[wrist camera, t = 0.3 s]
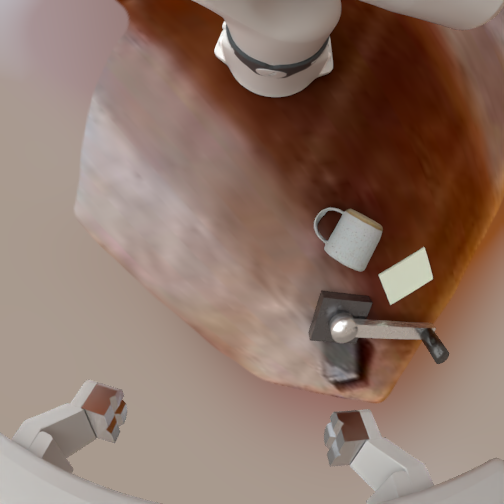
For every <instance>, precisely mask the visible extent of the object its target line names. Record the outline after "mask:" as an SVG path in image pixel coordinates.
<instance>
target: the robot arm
mask: <svg viewBox="0 0 504 504" xmlns="http://www.w3.org/2000/svg"><path fill="white" fill-rule="evenodd" d="M192 1H195V2H197V3H199V4H201V5H203V6H204V7H206V8H208V9H210V10H212V11H214V12H215V13H217V14H218V15H220V16H221V17H223V18H224V20H225V21H224V23H223V26H222V28H223V31H222V33H221V35H220V38H219V40H218V42H217V45H216V47H215V50H214V52H215V55H216V57H217V58H218V59H220V60H221V61H222V62H224V63H225V64H227V65H228V67H229V68H230V70H231V72H232V74H233V76H234V77H235V78H236V80H237V81H238V82H239V83H240V84H241V85H242V86H243V87H245V88H246V89H248V90H250V91H251V92H254V93H256V94H259V95H262V96H267V97H284V96H289V95H292V94H295V93H297V92H299V91H301V90H303V89H304V88H306V87H307V86H308V85H309V84H310V83H311V82H312V81H313V80H314V79H316V78H317V77H320V76H323V75H326V74H328V73H330V72H331V71H332V69H333V58H332V49H331V40H330V34H331V32H332V31H333V29H334V28H335V26H336V25H337V23H338V21H339V18H340V15H341V0H192ZM360 1H363V2H366V3H369V4H372V5H375V6H377V7H380V8H383V9H386V10H388V11H391V12H395V13H399V14H403V15H407V16H411V17H414V18H418V19H421V20H425V21H428V22H432V23H435V24H439V25H442V26H445V27H448V28H451V29H455V30H470V29H473V28H476V27H479V26H482V25H484V24H486V23H487V22H489V21H490V20H492V19H493V18H494V17H496V16H497V15H498V14H499V13H500V12H501V10H502V9H503V7H504V0H360ZM123 397H124V394H123V391H122V390H121V389H118V388H114V387H111V386H108V385H105V384H102V383H98V382H95V381H92V380H87V381H85V383H84V384H83V386H82V387H81V388H80V390H79V391H78V393H77V394H76V396H75V397H74V399H73V400H72V402H71V403H70V404H68V403H66V404H64V405H61V406H59V407H57V408H54V409H52V410H49V411H47V412H45V413H42V414H40V415H37V416H35V417H32V418H30V419H27V420H25V421H24V422H23V423H22V425H21V426H20V428H19V429H18V431H17V432H16V433H15V435H14V436H13V438H12V439H9V438H7V437H6V436H5V435H3V434H2V433H0V504H161V503H156V502H152V501H149V500H144V499H141V498H137V497H134V496H130V495H127V494H124V493H121V492H118V491H115V490H112V489H109V488H106V487H104V486H101V485H98V484H96V483H93V482H91V481H88V480H86V479H83V478H81V477H79V476H76V475H74V474H72V472H73V467H72V466H71V465H70V463H69V462H68V460H67V459H66V458H68V457H69V456H71V455H72V454H74V453H75V452H77V451H78V450H80V449H81V448H83V447H85V446H86V445H88V444H89V443H91V442H92V441H94V440H95V439H96V438H99V439H103V440H106V441H109V442H112V443H115V442H116V440H117V437H118V436H119V433H120V430H119V426H121V425H123V424H124V422H125V420H126V416H127V406H126V403H125V402H124V401H123V400H122V399H123ZM330 419H331V422H330V423H329V424H328V425H327V426H326V429H325V433H324V442H325V446H327V447H328V448H329V451H328V453H327V456H328V460H329V464H330V466H341V465H350V467H351V468H352V469H353V470H354V471H356V473H357V474H358V475H359V476H360V477H361V478H362V479H363V480H364V481H365V482H367V483H368V485H370V487H372V488H373V489H374V490H375V491H376V492H375V493H374V494H373V495H372V496H371V497H370V498H369V499H368V500H367V501H366V503H367V504H504V460H501V459H499V458H494V459H491V460H489V461H487V462H485V463H484V464H482V465H480V466H478V467H476V468H474V469H472V470H470V471H468V472H465V473H463V474H461V475H459V476H457V477H454V478H452V479H450V480H448V481H445V482H442V483H440V484H437V485H435V486H434V484H433V482H432V480H431V477H430V475H429V473H428V470H427V468H426V466H425V464H424V463H422V462H421V461H419V460H418V459H416V458H415V457H413V456H412V455H410V454H409V453H407V452H406V451H404V450H403V449H401V448H400V447H399V446H397V445H396V444H394V443H393V442H391V441H390V440H388V439H387V438H386V437H384V438H382V436H381V434H380V432H379V429H378V427H377V424H376V422H375V420H374V417H373V415H372V413H371V411H370V410H369V409H368V410H355V411H341V412H333V414H332V415H331V417H330Z"/></svg>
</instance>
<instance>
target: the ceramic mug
mask: <svg viewBox="0 0 504 504" xmlns="http://www.w3.org/2000/svg"><path fill="white" fill-rule="evenodd" d="M330 210H334V211H337V212H340V213H341V214H342V217H341V218H340V220H339V222H338V224H337V226H336V228H335V229H334V231H333V232H332V234H331V236H330V238H329V240H326V239H325V238H323V237H322V236H321V234H320V233H319V231H318V228H317V225H318V223H319V221H320V219H321V218H322V217H323V215H325V214H326V212H327V211H330ZM314 230H315V232H316V235H317V236H318V237H319V238H320V239H321V240H322V241H323V242H324V243H325V247H324V250H325V251H326V252H327V254H329V255H330V256H331V257H333V258H334V259H335V260H337V261H339V262H340V263H342V264H343V265H345V266H347V267H349V268H352V269H354V270H357V271H364V270H365V268H366V266H367V264H368V262H369V260H370V258H371V256H372V254H373V252H374V250H375V248H376V246H377V244H378V242H379V240H380V238H381V235H382V231H383V228H382V226H381V225H380V224H379V223H377V222H375V221H374V220H372V219H370V218H368V217H367V216H365V215H363V214H361V213H359V212H357V211H355V210H353V209H348V210H346V211H345V212H344V211H342V210H340V209H337V208H331V207H330V208H326V209H323V210H322V211H320V212H319V214H318V215H317V216H316V218H315V220H314Z"/></svg>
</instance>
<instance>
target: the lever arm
mask: <svg viewBox="0 0 504 504" xmlns="http://www.w3.org/2000/svg"><path fill="white" fill-rule="evenodd" d="M329 328H330V331H331V335H332V338H333V340H334V341H336V342H338V343H346V342H349V341H351V340H352V339H354V338H355V337H360V338H382V339H421V340H422V341H423V343H424V344H425V346H426V347H427V349H428V350H429V352H430V354H431V355H432V357H433V359H434V360H435V362H436V363H437V364H440V363H443V362H444V361H445V360H446V359H447V358H448V356H449V352H448V351H447V349H446V348H445V346H444V345H443V343H442V342H441V341H440V339H439V338H438V336H437V335H436V334H435V332H434V331H435V329H436V328H435V326H434V325H433V324H432V323H420V322H400V321H383V320H369V319H356V318H353V316H352V315H351V314H349V313H345V312H343V313H339V314H336V315H335V316H334V317H332V319H331V320H330V322H329Z"/></svg>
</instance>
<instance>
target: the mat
mask: <svg viewBox="0 0 504 504" xmlns="http://www.w3.org/2000/svg"><path fill="white" fill-rule="evenodd" d="M378 275H379V278H380V280H381V283H382V285H383V288H384V290H385V293H386V295H387V298H388V301H389V303H390V305H391V304H393V303H395V302H396V301H398V300H400V299H402V298H403V297H405V296H407V295H408V294H410V293H411V292H413V291H415V290H416V289H418V288H419V287H421V286H423V285H424V284H426V283H427V282H429V281H430V280H432V279H433V276H432V272H431V268H430V264H429V261H428V257H427V254H426V250H425V247H423V248H421V249H420V250H418V251H416V252H415V253H413V254H412V255H410V256H408V257H407V258H405V259H404V260H402V261H400V262H399V263H397V264H395V265H394V266H392V267H390V268H389V269H387V270H385V271H383V272H382V273H380V274H378Z"/></svg>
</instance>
